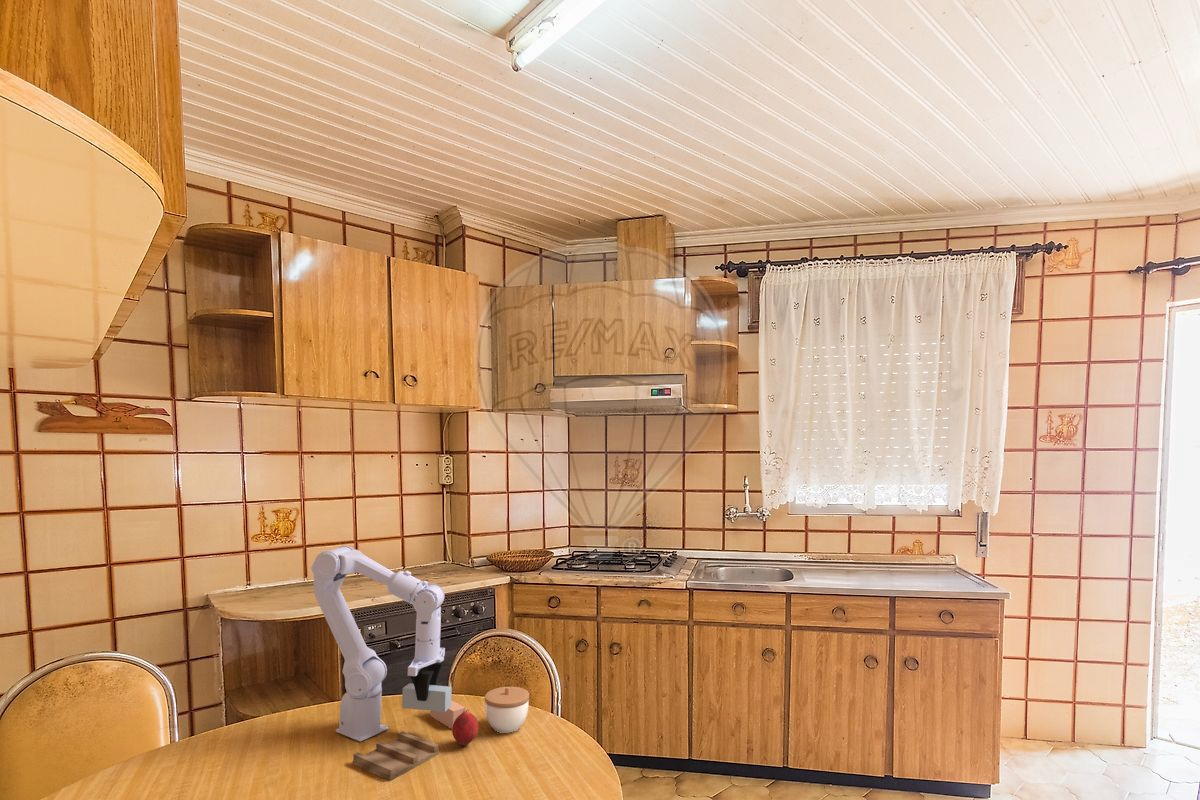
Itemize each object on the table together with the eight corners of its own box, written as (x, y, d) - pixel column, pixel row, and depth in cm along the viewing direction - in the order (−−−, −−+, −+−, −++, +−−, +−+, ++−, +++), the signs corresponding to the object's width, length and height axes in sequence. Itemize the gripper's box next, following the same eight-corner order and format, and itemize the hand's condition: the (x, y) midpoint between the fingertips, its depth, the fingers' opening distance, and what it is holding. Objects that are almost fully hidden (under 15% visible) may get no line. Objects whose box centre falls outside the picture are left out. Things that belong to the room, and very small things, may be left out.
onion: (471, 753, 132) (472, 715, 133) (447, 750, 133) (448, 713, 134) (481, 741, 138) (482, 704, 139) (458, 738, 139) (459, 702, 140)
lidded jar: (506, 714, 152) (507, 676, 153) (537, 725, 146) (538, 685, 147) (474, 730, 143) (475, 689, 144) (506, 742, 137) (507, 700, 138)
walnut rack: (352, 764, 127) (353, 754, 127) (402, 740, 138) (402, 731, 138) (389, 780, 121) (390, 770, 121) (438, 754, 132) (438, 744, 132)
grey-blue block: (402, 707, 141) (402, 688, 142) (409, 702, 144) (409, 683, 145) (445, 711, 139) (445, 691, 139) (451, 706, 142) (451, 686, 142)
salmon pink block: (430, 716, 151) (430, 698, 152) (441, 712, 153) (442, 694, 154) (452, 730, 143) (453, 711, 144) (464, 726, 145) (465, 707, 146)
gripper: (428, 648, 135) (426, 711, 134) (456, 630, 149) (455, 687, 148) (400, 646, 137) (397, 708, 135) (430, 628, 151) (428, 684, 149)
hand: (425, 697), depth 142 cm, fingers closed on grey-blue block, 3 cm apart
